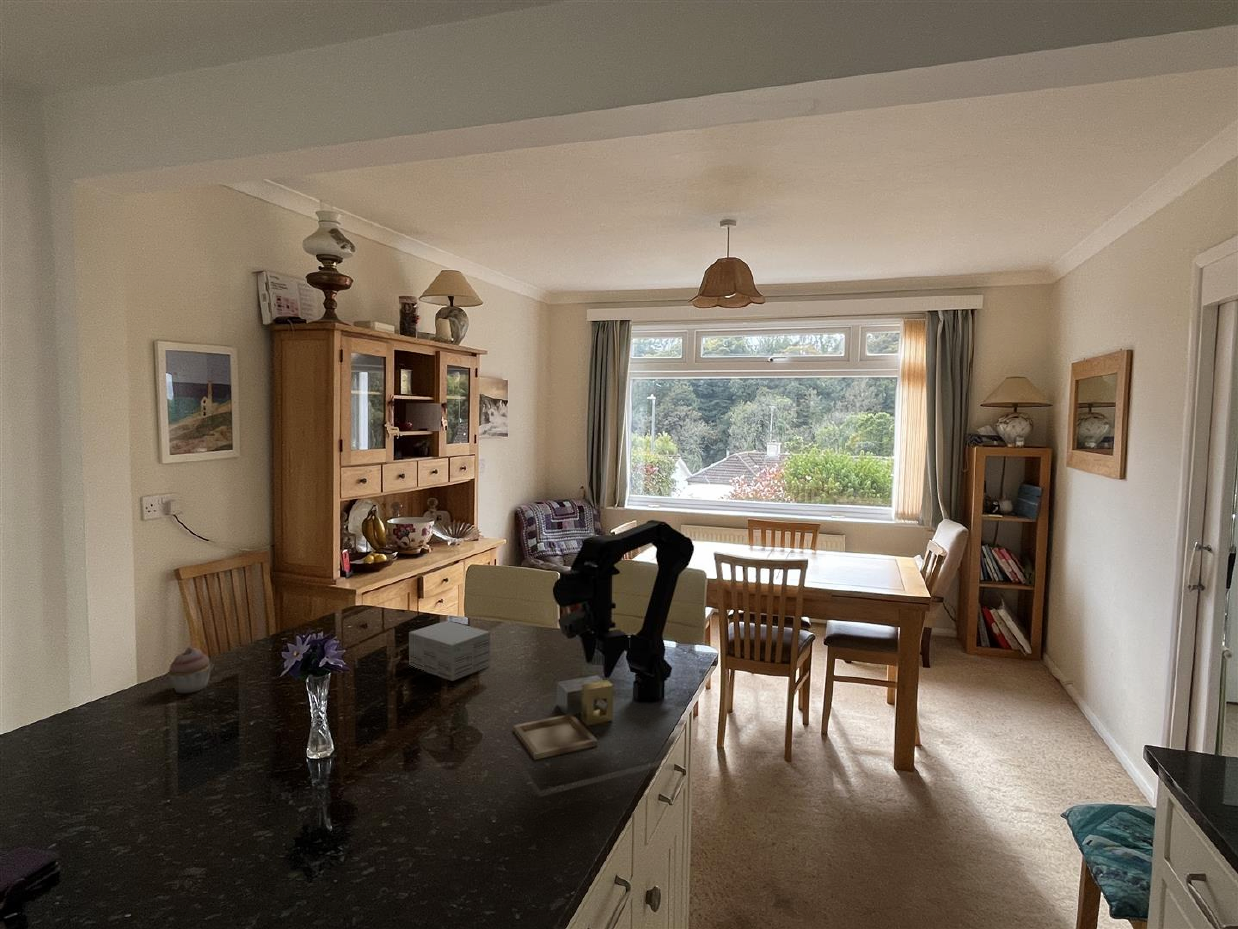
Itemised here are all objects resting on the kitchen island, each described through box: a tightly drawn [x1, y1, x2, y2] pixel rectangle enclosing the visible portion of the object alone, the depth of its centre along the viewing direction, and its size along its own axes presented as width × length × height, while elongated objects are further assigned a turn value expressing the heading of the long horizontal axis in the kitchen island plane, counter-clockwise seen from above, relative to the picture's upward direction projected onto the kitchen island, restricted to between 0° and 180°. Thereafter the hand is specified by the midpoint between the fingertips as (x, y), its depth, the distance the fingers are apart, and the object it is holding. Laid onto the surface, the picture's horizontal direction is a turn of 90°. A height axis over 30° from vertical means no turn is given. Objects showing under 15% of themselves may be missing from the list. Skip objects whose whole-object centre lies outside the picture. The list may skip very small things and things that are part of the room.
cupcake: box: [166, 646, 215, 694], centre depth 155 cm, size 9×9×10 cm
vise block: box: [556, 674, 608, 716], centre depth 145 cm, size 11×14×6 cm
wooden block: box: [580, 679, 614, 726], centre depth 141 cm, size 6×3×8 cm, turn 117°
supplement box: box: [408, 620, 491, 682], centre depth 172 cm, size 17×13×9 cm
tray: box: [512, 714, 598, 761], centre depth 134 cm, size 13×13×2 cm
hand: (597, 669), depth 141 cm, fingers open, 9 cm apart
